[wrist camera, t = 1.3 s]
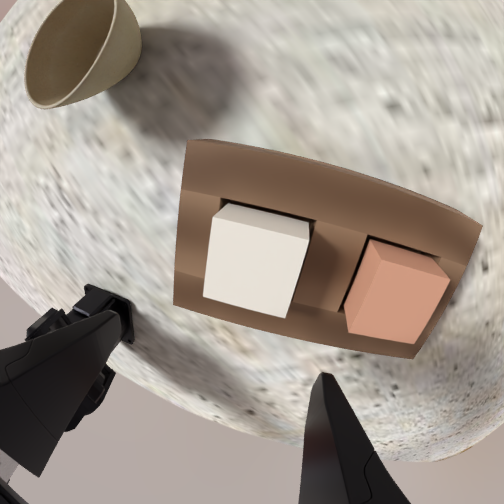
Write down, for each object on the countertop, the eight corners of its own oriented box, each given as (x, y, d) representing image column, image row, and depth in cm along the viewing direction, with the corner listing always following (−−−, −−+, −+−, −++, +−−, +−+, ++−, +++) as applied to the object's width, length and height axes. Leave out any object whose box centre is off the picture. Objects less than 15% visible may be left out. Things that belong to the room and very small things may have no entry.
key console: (402, 329, 22) (413, 359, 18) (191, 279, 23) (173, 304, 20) (457, 209, 17) (482, 225, 13) (209, 138, 18) (187, 140, 15)
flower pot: (184, 67, 16) (131, 43, 10) (94, 128, 19) (34, 136, 13) (151, -9, 13) (104, -38, 7) (72, 53, 16) (20, 46, 10)
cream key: (288, 291, 18) (285, 318, 15) (217, 273, 19) (202, 296, 16) (308, 222, 16) (309, 240, 13) (228, 203, 16) (212, 217, 14)
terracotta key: (403, 317, 17) (413, 344, 15) (343, 304, 18) (348, 332, 15) (432, 258, 15) (450, 279, 12) (369, 239, 16) (381, 259, 13)
